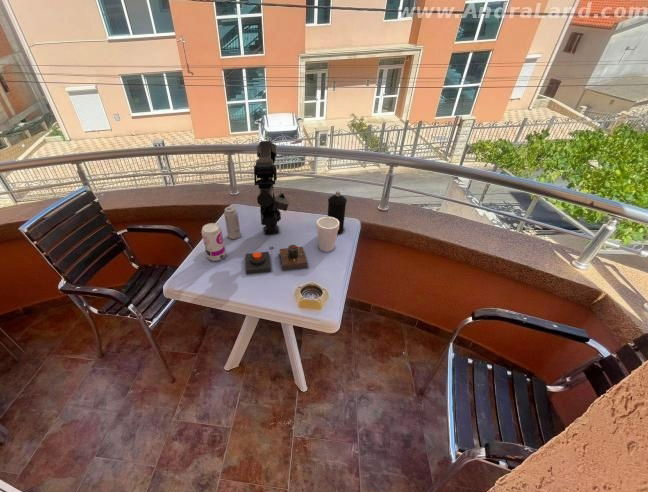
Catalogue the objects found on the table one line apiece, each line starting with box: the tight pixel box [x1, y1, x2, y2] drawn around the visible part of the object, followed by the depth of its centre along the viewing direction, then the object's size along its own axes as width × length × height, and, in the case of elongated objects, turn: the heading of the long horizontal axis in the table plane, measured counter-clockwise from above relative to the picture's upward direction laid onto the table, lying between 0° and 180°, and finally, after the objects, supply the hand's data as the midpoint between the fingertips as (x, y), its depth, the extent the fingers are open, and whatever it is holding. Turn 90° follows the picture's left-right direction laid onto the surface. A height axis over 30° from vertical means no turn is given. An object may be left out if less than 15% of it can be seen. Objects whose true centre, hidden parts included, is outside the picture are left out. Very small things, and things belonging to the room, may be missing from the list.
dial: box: [287, 244, 299, 258], centre depth 133 cm, size 4×4×4 cm
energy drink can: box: [223, 205, 241, 240], centre depth 148 cm, size 6×6×15 cm
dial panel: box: [279, 246, 308, 271], centre depth 135 cm, size 11×10×3 cm
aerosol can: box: [327, 190, 348, 235], centre depth 146 cm, size 8×8×20 cm
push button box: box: [245, 251, 272, 275], centre depth 134 cm, size 11×10×4 cm
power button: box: [253, 251, 262, 260], centre depth 133 cm, size 4×4×2 cm
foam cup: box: [316, 216, 339, 253], centre depth 138 cm, size 10×9×13 cm
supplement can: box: [200, 222, 227, 262], centre depth 137 cm, size 8×8×15 cm
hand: (269, 227), depth 134 cm, fingers closed
